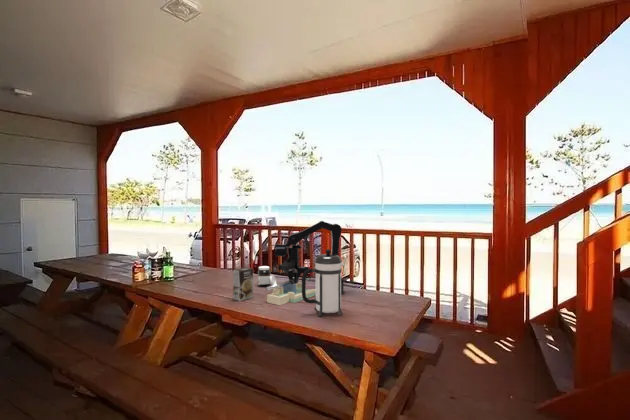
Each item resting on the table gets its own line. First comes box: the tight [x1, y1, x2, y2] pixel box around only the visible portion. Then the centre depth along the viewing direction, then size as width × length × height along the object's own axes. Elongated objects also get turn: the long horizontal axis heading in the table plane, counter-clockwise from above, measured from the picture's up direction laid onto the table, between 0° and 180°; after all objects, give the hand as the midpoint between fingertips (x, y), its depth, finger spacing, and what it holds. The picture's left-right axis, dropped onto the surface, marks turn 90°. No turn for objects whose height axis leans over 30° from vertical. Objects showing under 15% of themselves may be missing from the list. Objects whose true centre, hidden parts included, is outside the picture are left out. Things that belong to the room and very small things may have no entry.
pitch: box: [266, 281, 316, 306], centre depth 179 cm, size 16×28×5 cm, turn 143°
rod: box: [265, 278, 300, 293], centre depth 179 cm, size 8×24×6 cm, turn 143°
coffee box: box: [232, 267, 254, 302], centre depth 178 cm, size 9×6×16 cm
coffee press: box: [301, 248, 345, 318], centre depth 154 cm, size 17×16×30 cm
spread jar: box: [257, 265, 277, 288], centre depth 207 cm, size 12×11×12 cm
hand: (293, 283), depth 188 cm, fingers closed on rod, 3 cm apart
